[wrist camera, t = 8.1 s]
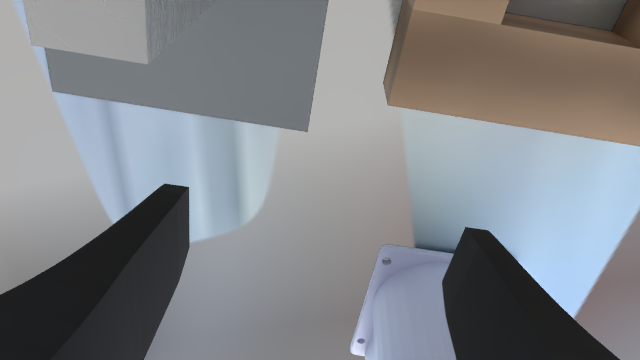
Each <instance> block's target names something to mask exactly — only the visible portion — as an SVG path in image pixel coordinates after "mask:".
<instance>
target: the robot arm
mask: <svg viewBox="0 0 640 360" xmlns="http://www.w3.org/2000/svg"><path fill="white" fill-rule="evenodd" d="M188 250H189V187H184V186H177V185H170V184H164V185H162V186H161V187H159V188H158V189H157V190H156V191H154V192H153V193H152V194H151V195H150V196H148V197H147V198H146V199H145V200H144V201H142V202H141V203H140V204H139V205H137V206H136V207H135V208H134V209H133V210H131V211H130V212H129V213H128V214H126V215H125V216H124V217H122V218H121V219H120V220H119V221H117V222H116V223H115V224H113V225H112V226H111V227H109V228H108V229H107V230H106V231H104V232H103V233H102V234H100V235H99V236H97V237H96V238H95V239H93V240H92V241H90V242H89V243H87V244H86V245H84V246H83V247H82V248H80V249H79V250H77V251H76V252H74V253H73V254H71V255H70V256H68V257H67V258H65V259H64V260H62V261H61V262H59V263H57V264H56V265H54V266H53V267H51V268H49V269H48V270H46V271H44V272H42V273H41V274H39V275H37V276H35V277H34V278H32V279H30V280H28V281H26V282H25V283H23V284H21V285H19V286H17V287H15V288H13V289H11V290H9V291H7V292H5V293H3V294H1V295H0V360H144V358H145V356H146V354H147V351H148V349H149V347H150V345H151V343H152V340H153V338H154V336H155V334H156V331H157V329H158V327H159V325H160V322H161V320H162V318H163V316H164V314H165V311H166V309H167V307H168V305H169V303H170V300H171V298H172V296H173V294H174V291H175V289H176V287H177V284H178V282H179V279H180V276H181V273H182V270H183V267H184V263H185V260H186V257H187V253H188ZM385 258H388V259H389V260H387V261H385V260H383V259H385ZM360 338H361V339H360ZM350 346H351V352H352V353H353V354H355V355H361V356H365V360H620V359H619V358H617V357H616V356H615V355H614V354H613V353H611V352H610V351H609V350H608V349H607V348H606V347H604V346H603V345H602V344H601V343H599V342H598V341H597V340H596V339H595V338H593V336H591V335H590V334H589V333H588V332H587V331H586V330H585V329H584V328H583V327H581V326H580V325H579V324H578V323H577V322H576V321H575V320H574V319H573V318H572V317H571V316H570V315H569V314H568V313H567V312H566V311H565V310H564V309H563V308H562V307H561V306H559V304H558V303H557V302H556V301H555V300H554V299H553V298H552V297H551V296H550V295H549V294H548V293H547V292H546V291H545V290H544V289H543V288H542V287H541V286H540V285H539V284H538V283H537V282H536V281H535V280H534V279H533V278H532V277H531V276H530V274H529V273H528V272H527V271H526V270H525V269H524V268H523V267H522V266H521V265H520V264H519V263H518V261H517V260H516V259H515V258H514V257H513V256H512V255H511V254H510V253H509V252H508V251H507V249H506V248H505V247H504V246H503V245H502V244H501V243H500V242H499V241H498V240H497V239H496V238H495V237H494V236H493V235H492V234H491V233H490V232H489V231H488V230H481V229H474V228H468V227H465V230H464V232H463V234H462V237H461V239H460V241H459V243H458V246H457V248H456V250H455V253H454V254H452V253H445V252H439V251H432V250H425V249H418V248H412V247H404V246H398V245H391V244H387V245H383V246H382V247H381V248H380V250H379V253H378V256H377V260H376V263H375V266H374V270H373V273H372V276H371V280H370V283H369V286H368V290H367V293H366V296H365V299H364V302H363V306H362V309H361V312H360V316H359V319H358V322H357V325H356V329H355V332H354V336H353V339H352V342H351V345H350Z"/></svg>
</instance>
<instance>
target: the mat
mask: <svg viewBox="0 0 640 360" xmlns="http://www.w3.org/2000/svg"><path fill="white" fill-rule="evenodd" d="M327 5H328V0H216V1H215V2H214V3H213V4H212V5H211V6H210V7H209V8H208V9H207V10H206V11H205V12H204V13H203V14H201V15H200V16H199V17H198V18H197V19H196V20H195V21H194V22H193V23H192V24H191V25H190V26H189V27H188V28H186V29H185V30H184V31H183V32H182V33H181V34H180V35H179V36H178V37H177V38H176V39H175V40H174V41H172V42H171V43H170V44H169V45H168V46H167V47H166V48H165V49H164V50H163V51H162V52H161V53H160V54H159V55H157V56H156V57H155V58H154V59H153V60H152V61H151V62H150V63H149V64H142V63H136V62H130V61H124V60H118V59H112V58H106V57H100V56H94V55H88V54H82V53H76V52H70V51H64V50H57V49H51V48H45V51H46V57H47V62H48V68H49V74H50V79H51V85H52V91H53V92H60V93H66V94H72V95H78V96H85V97H91V98H97V99H104V100H110V101H116V102H122V103H129V104H135V105H141V106H148V107H154V108H160V109H166V110H173V111H179V112H185V113H192V114H198V115H204V116H210V117H217V118H223V119H229V120H236V121H242V122H248V123H254V124H261V125H267V126H273V127H280V128H286V129H292V130H299V131H305V132H307V131H308V126H309V119H310V113H311V106H312V100H313V94H314V88H315V82H316V75H317V69H318V63H319V56H320V50H321V43H322V37H323V31H324V25H325V18H326V12H327Z"/></svg>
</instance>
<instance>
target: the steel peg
mask: <svg viewBox="0 0 640 360" xmlns="http://www.w3.org/2000/svg"><path fill="white" fill-rule="evenodd" d="M215 1H216V0H23V3H24V8H25V14H26V19H27V24H28V29H29V35H30V40H31V45H33V46H39V47H45V48H51V49H57V50H64V51H70V52H76V53H82V54H88V55H94V56H100V57H106V58H112V59H118V60H124V61H130V62H136V63H142V64H149V63H150V62H151V61H152V60H153V59H154V58H155V57H156V56H157V55H159V54H160V53H161V52H162V51H163V50H164V49H165V48H166V47H167V46H168V45H169V44H170V43H171V42H172V41H174V40H175V39H176V38H177V37H178V36H179V35H180V34H181V33H182V32H183V31H184V30H185V29H186V28H188V27H189V26H190V25H191V24H192V23H193V22H194V21H195V20H196V19H197V18H198V17H199V16H200V15H201V14H203V13H204V12H205V11H206V10H207V9H208V8H209V7H210V6H211V5H212V4H213V3H214V2H215Z"/></svg>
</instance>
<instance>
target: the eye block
mask: <svg viewBox="0 0 640 360" xmlns="http://www.w3.org/2000/svg"><path fill="white" fill-rule="evenodd" d="M508 3H509V0H403V4H402V8H401V12H400V16H399V20H398V24H397V28H396V32H395V36H394V40H393V44H392V49H391V53H390V57H389V61H388V65H387V69H386V73H385V77H384V81H383V84H384V89H385V93H386V98H387V103H388V105H390V106H396V107H402V108H408V109H414V110H421V111H427V112H433V113H439V114H445V115H451V116H457V117H463V118H469V119H476V120H482V121H488V122H494V123H500V124H506V125H512V126H518V127H525V128H531V129H537V130H543V131H549V132H555V133H561V134H567V135H573V136H580V137H586V138H592V139H598V140H604V141H610V142H616V143H622V144H628V145H635V146H640V0H627V2H626V4H625V6H624V8H623V10H622V12H621V14H620V16H619V18H618V20H617V22H616V24H615V26H614V28H613V30H612V31H607V30H601V29H595V28H590V27H584V26H578V25H573V24H567V23H561V22H556V21H550V20H544V19H539V18H533V17H527V16H522V15H516V14H510V13H505V11H506V9H507V6H508Z"/></svg>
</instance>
